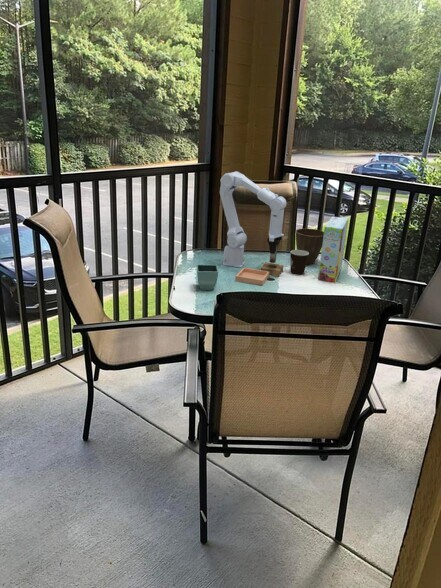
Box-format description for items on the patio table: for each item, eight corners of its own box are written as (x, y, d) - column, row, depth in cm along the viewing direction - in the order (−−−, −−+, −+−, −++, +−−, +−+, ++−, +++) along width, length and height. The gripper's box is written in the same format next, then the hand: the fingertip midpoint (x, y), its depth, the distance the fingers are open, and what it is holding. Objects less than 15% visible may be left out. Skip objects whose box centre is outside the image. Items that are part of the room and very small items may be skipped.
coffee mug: (305, 276, 215) (308, 256, 211) (287, 274, 216) (289, 254, 212) (306, 268, 225) (309, 249, 221) (289, 266, 227) (291, 247, 223)
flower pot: (195, 283, 199) (196, 264, 196) (215, 284, 200) (217, 264, 197) (196, 291, 191) (197, 271, 188) (217, 291, 192) (218, 271, 189)
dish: (235, 280, 205) (235, 275, 204) (243, 272, 216) (243, 267, 215) (262, 285, 201) (262, 280, 200) (269, 276, 212) (269, 271, 211)
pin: (268, 262, 215) (270, 243, 211) (270, 260, 217) (271, 242, 214) (274, 263, 214) (276, 244, 210) (276, 261, 216) (278, 243, 213)
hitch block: (260, 273, 215) (260, 267, 214) (264, 268, 223) (265, 262, 222) (278, 276, 213) (279, 270, 211) (282, 270, 220) (283, 265, 219)
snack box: (324, 266, 230) (331, 215, 220) (341, 269, 227) (350, 218, 217) (316, 280, 211) (324, 225, 201) (335, 283, 209) (344, 228, 199)
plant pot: (295, 256, 243) (299, 226, 237) (323, 260, 238) (328, 230, 232) (289, 264, 230) (292, 233, 224) (318, 269, 225) (323, 237, 219)
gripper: (281, 228, 201) (278, 258, 206) (288, 221, 214) (284, 249, 219) (265, 226, 203) (263, 255, 208) (273, 219, 216) (270, 247, 221)
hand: (273, 252), depth 214 cm, fingers closed on pin, 3 cm apart
